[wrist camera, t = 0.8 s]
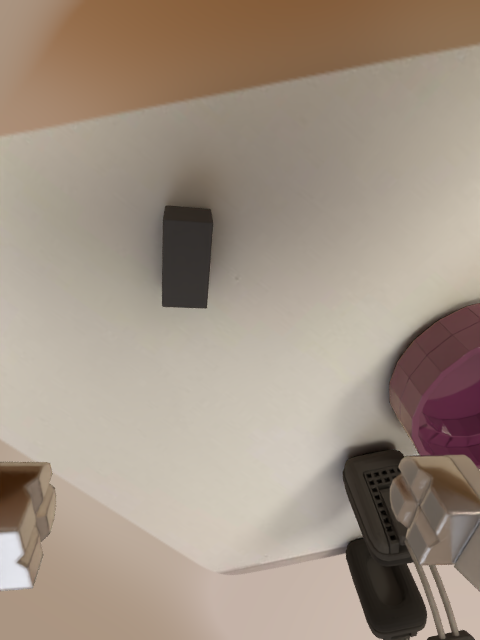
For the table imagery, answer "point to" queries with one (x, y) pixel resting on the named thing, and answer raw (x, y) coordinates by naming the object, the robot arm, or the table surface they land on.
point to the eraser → (186, 256)
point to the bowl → (442, 387)
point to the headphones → (388, 556)
